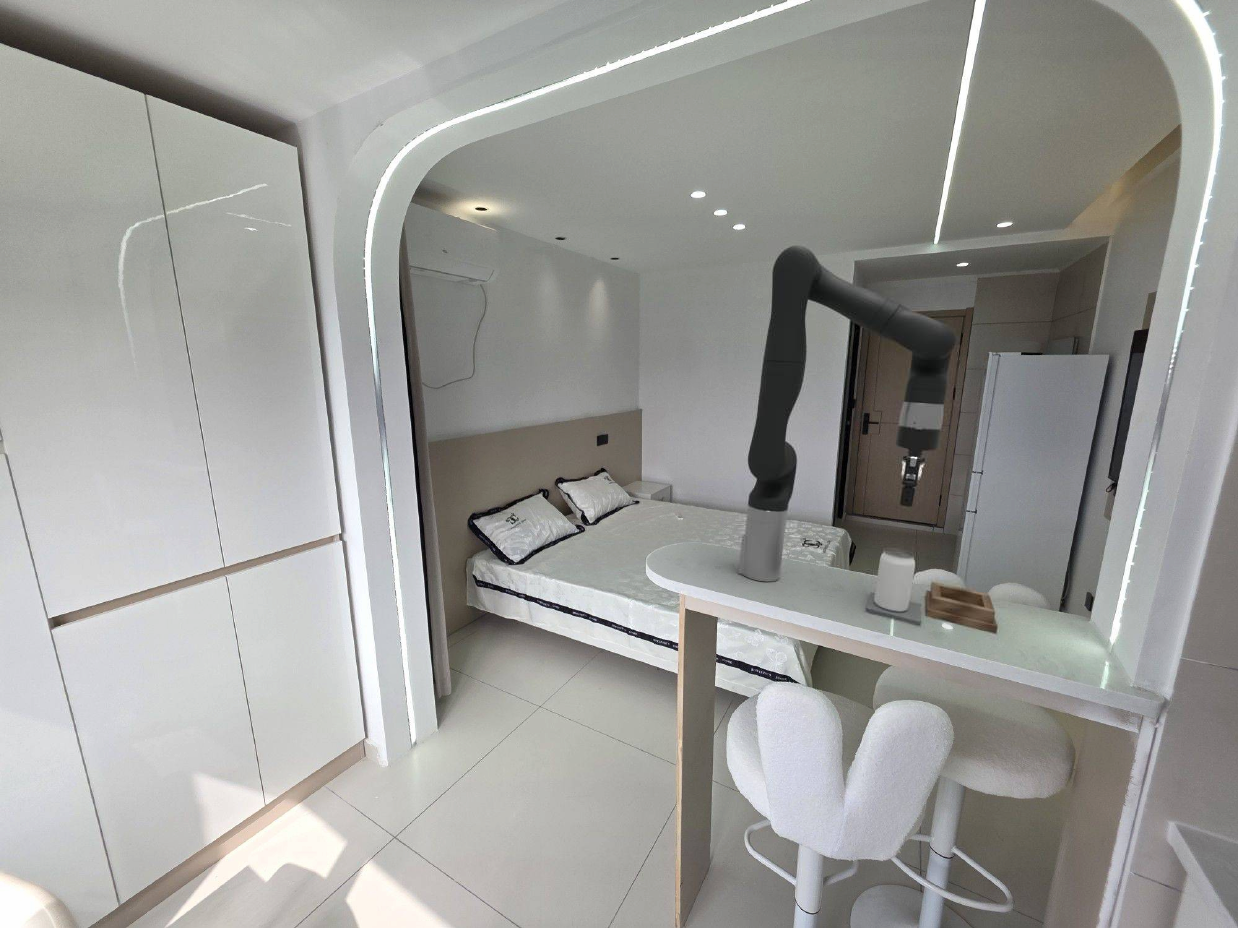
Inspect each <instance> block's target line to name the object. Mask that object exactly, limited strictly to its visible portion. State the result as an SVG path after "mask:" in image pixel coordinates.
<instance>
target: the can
mask: <svg viewBox="0 0 1238 928" xmlns="http://www.w3.org/2000/svg"><path fill="white" fill-rule="evenodd" d="M914 557H915V555H914V554H913V553H912V552H910V551H907V550H904V549H902V548H901V549H900V548H895V547H889V548H884V549H883V552H882V554H881V555H880V558H879V564H878V569H877V570H878V571H877V577H876V583H875V591H874V593H875V597H874V602H875V603H876V605H877V606H879V607H881V608H883V609H885V610H888V611H893V612H904V611H906V610H907V609H908V605H909V602H910V599H911V594H912V593H911V591H912V586H913V581H914V575H915V567H916V561H915V558H914Z"/></svg>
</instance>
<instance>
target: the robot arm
mask: <svg viewBox="0 0 1238 928" xmlns="http://www.w3.org/2000/svg"><path fill="white" fill-rule="evenodd" d="M771 273H772V274H771V275H772V276H771V277H772V278H771V279H772V283H771V285H772V286H771V310H770V311H771V312H770V319H769V324H768V330H767V335H766V341H765V347H764V354H763V359H762V360H763V361H762V366H761V367H762V368H761V375H760V385H759V394H758V403H757V409H756V411H757V412H756V419H755V424H754V428H753V433H752V438H751V442H750V445H749V449H748V455H747V465H748V469H749V472H750V473H751V475H752V476H753V477H754V478H755V479H756V482H755V484H754V487H753V488H752V490H751V491H750V492H749V495H748V501H747V511H746V520H745V527H744V528H745V530H744V534H743V535H742V536H741V544H740V554H739V564H738V574H740V575H743V576H745V577H746V578H748V579H751V580H755V581H759V582H775V581H778V580H779V579H780V576H781V571H782V570H781V569H782V562H783V552H784V544H785V543H784V542H785V536H786V528H787V526H786V525H787V519H788V518H787V517H788V511H789V509H788V508H789V503H790V500H791V499H792V497H793V492H794V486H795V482H796V481H795V480H796V473H797V464H798V458H797V453H796V450H795V448H794V447H793V446H792V444H791V443H790V442H787V441H786V438H787V429H788V423H789V420H790V417H791V415H792V412H793V409H794V407H795V405H796V403H797V401H798V398H799V397H800V393H801V392H802V391H801V390H802V386H803V383H804V377H805V372H806V362H807V352H808V351H807V349H808V347H807V331H806V326H807V325H806V313H807V307H808V302H809V301H811V302H814V303H817V304H819V305H822V306H824V307H826V308H828V309H830V310H832V311H834V312H836V313H838V314H840V315H841V316H844V317H845V318H847V319H848V320H850V321H851V322H852V323H854V324H856V325H858V326H860V327H862V328H864V329H865V330H867V331H869V332H871V333H873V334H874V335H876V336H878V337H880V338H881V339H885V340H887V341H890V342H895V343H896V344H898V345H900V346H901V347H902V348H904V349H906V350H908V351H910V352H912V353H911V359H910V361H911V362H910V371H909V372H910V373H909V376H908V379H907V383H906V389H905V392H904V399H903V401H904V402H903V404H902V408H901V410H900V414H899V421H898V427H897V433H896V437H895V438H896V439H895V445H896V447H899V448H903V449H907V450H908V451H907V455H903V457H902V462H901V466H902V468H901V469H902V470H901V475H900V476H901V478H902V481H901V487H902V488H901V496H900V501H899V505H900V506H902V507H907V508H911V507H913V504H914V497H915V492H916V489H917V488H918V484H919V483H918V481H920V479H921V478H922V472H923V469H924V468H925V463H926V458H925V457H922V456H923V452H925V451H927V452H928V451H929V452H930V451H933V452H934V451H937V449H938V447H939V441H940V437H941V431H942V425H943V419H944V406H945V400H946V393H947V390H948V389H947V388H948V378H947V376H948V370H949V365H950V361H951V356H952V354H953V353H952V352H953V350H954V349H955V347H956V344H957V336H956V333H955V330H953V328H952V327H950V326H948V325H947V324H945V323H944V322H942V321H939V320H937V319H935V318H931V317H930V316H927V315H924V314H922V313H919V312H915V311H913V310H911V309H910V308H909V307H907V306H905V305H903V304H901V303H899V302H897V301H895V300H893V299H891V298H889V297H887V296H885V295H882V294H880V293H878V292H875V291H873V290H870V289H868V288H865V287H862V286H858V285H855V284H853V283H851V282H849V281H846V280H845V279H843V278H840V277H839V276H837V275H835V274H834V273H832V271H830V270H829V269H828V268H826V267H825V266H823V265H822V264H821V263H820V261H819V260H818V258H817V257H816V256H815V254H814V253H813V252H812V251H811V250H810V249H808V248H807V247H805V246H802V245H793V246H792V245H791V246H789V247H787V248H785V249H784V250H783V251H782V252H781V253H780V254H779V255H778V256H777V258H776V259H775V262H774V265H773V267H772V272H771Z"/></svg>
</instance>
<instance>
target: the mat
mask: <svg viewBox="0 0 1238 928" xmlns="http://www.w3.org/2000/svg"><path fill="white" fill-rule="evenodd" d="M874 597H875V592H872V591H870V592H869V595H868V599H867V603H866V607H865V612H866V613H870V614H873V615H877V616H881V617H885V618H889V619H892V620H897V621H900V622H903V623H909V624H912V625H916V626H919V627H921V624H922V622H921V621H922V604H920V603H918V602H917V603H916V602H913V601H909V605H908V609H907V610H906V611H904V612H893V611H888V610H885V609H883V608H881V607H879V606H877V605H876V603H875V602H874Z"/></svg>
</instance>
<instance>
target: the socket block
mask: <svg viewBox="0 0 1238 928" xmlns="http://www.w3.org/2000/svg"><path fill="white" fill-rule="evenodd" d="M924 599H925V617H929V618H932V619H937V620H940V621H945V622H949V623H952V624H956V625H960V626H961V625H962V626H964V627H968V628H973V629H977V630H981V631H984V632H988V633H992V634H993V633H994V634H997V631H998V623H997V620H996V610H995V608H994V605H993V602H992V599H991V596H990V594H989V593H985V592H981V591H980V592H979V591H975V590H971V589H966V588H962V587H957V586H952V585H949V584H944V583H939V582H934V581H931V584H930V590H926V592H925V598H924Z"/></svg>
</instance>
